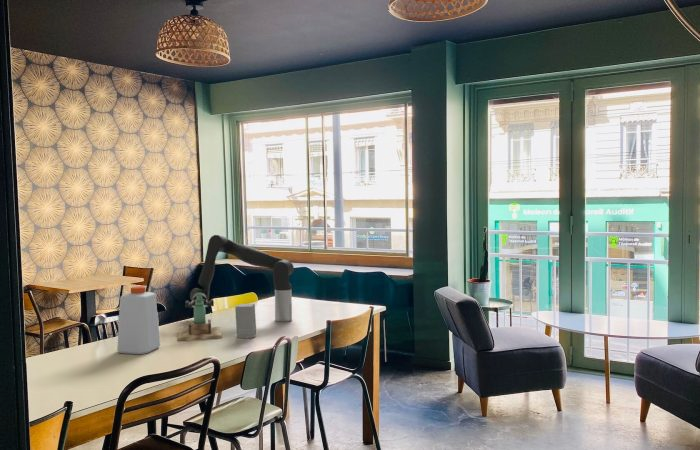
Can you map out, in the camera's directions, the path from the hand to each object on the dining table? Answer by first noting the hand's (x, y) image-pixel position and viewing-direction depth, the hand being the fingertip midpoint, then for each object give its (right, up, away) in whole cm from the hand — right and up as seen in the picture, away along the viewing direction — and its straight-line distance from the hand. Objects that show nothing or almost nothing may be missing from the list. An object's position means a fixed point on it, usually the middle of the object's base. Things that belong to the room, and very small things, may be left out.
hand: (199, 306), depth 278 cm
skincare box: (+26, -13, -13) cm, 32 cm away
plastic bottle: (-17, -14, -37) cm, 43 cm away
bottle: (+3, -11, -10) cm, 15 cm away
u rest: (+3, -13, -10) cm, 16 cm away
